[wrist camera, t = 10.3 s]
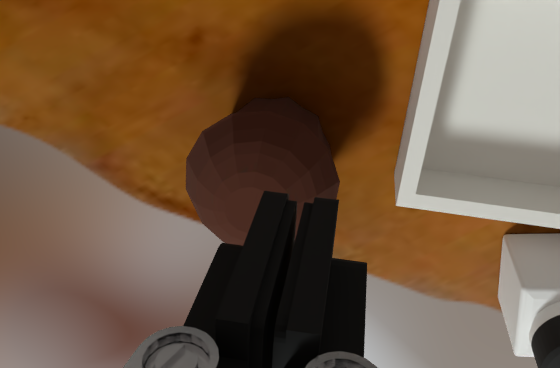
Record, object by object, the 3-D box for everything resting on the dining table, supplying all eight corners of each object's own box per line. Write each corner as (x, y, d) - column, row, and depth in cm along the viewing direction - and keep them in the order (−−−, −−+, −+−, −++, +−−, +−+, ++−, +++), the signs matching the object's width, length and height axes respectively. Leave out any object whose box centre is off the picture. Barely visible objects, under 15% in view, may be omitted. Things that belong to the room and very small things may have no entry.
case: (443, -69, 33) (453, -63, 29) (689, -49, 31) (738, -39, 27) (394, 173, 42) (395, 205, 38) (582, 199, 41) (606, 235, 36)
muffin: (254, 51, 39) (219, 96, 31) (372, 128, 41) (370, 192, 32) (188, 162, 45) (143, 226, 37) (294, 226, 47) (275, 302, 38)
